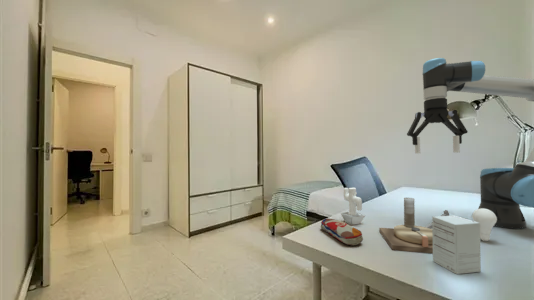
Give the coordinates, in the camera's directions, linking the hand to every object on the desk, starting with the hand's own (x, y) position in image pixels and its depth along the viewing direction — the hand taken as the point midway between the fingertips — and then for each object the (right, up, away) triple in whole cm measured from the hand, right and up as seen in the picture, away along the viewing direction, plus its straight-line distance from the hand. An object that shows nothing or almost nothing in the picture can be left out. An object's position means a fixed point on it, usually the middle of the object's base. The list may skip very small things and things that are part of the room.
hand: (436, 153), depth 93 cm
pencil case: (-41, -31, -8) cm, 51 cm away
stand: (-17, -30, -13) cm, 37 cm away
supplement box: (-17, -30, -30) cm, 46 cm away
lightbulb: (+7, -30, -13) cm, 33 cm away
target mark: (-19, -28, -21) cm, 40 cm away
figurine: (-30, -30, +8) cm, 44 cm away
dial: (-17, -28, -13) cm, 36 cm away
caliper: (-1, -30, 0) cm, 30 cm away
